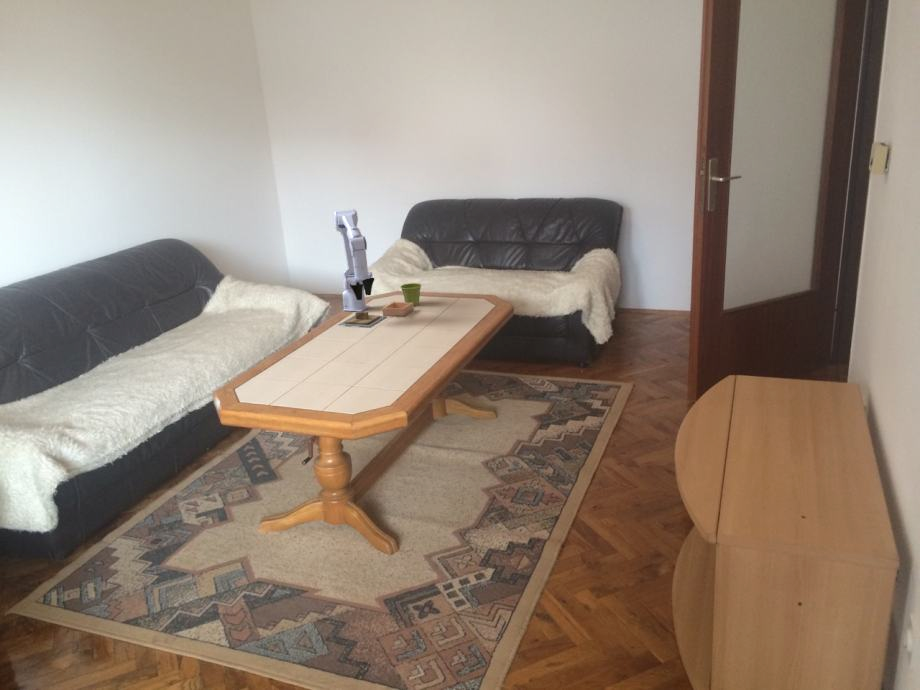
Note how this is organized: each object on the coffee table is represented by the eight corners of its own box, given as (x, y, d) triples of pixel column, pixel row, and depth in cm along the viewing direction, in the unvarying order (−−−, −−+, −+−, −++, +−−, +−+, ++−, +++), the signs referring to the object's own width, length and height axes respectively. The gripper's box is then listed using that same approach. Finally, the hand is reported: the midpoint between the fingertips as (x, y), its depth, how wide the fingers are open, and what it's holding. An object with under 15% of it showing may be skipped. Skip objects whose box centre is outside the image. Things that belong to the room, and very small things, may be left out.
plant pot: (427, 302, 340) (425, 284, 337) (415, 308, 333) (413, 289, 330) (410, 300, 345) (408, 282, 342) (398, 306, 337) (396, 287, 335)
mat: (338, 325, 315) (338, 324, 314) (356, 315, 328) (356, 314, 327) (369, 327, 309) (369, 326, 309) (386, 317, 322) (386, 316, 322)
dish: (383, 315, 324) (382, 308, 323) (393, 309, 333) (392, 301, 332) (403, 317, 320) (403, 309, 319) (413, 310, 329) (413, 302, 328)
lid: (344, 323, 315) (343, 315, 314) (357, 316, 325) (356, 308, 324) (367, 325, 311) (366, 316, 310) (380, 317, 321) (379, 309, 320)
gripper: (360, 270, 305) (363, 302, 309) (377, 262, 318) (380, 293, 322) (345, 269, 308) (348, 301, 312) (362, 261, 320) (366, 292, 325)
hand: (363, 297), depth 317 cm, fingers open, 7 cm apart
